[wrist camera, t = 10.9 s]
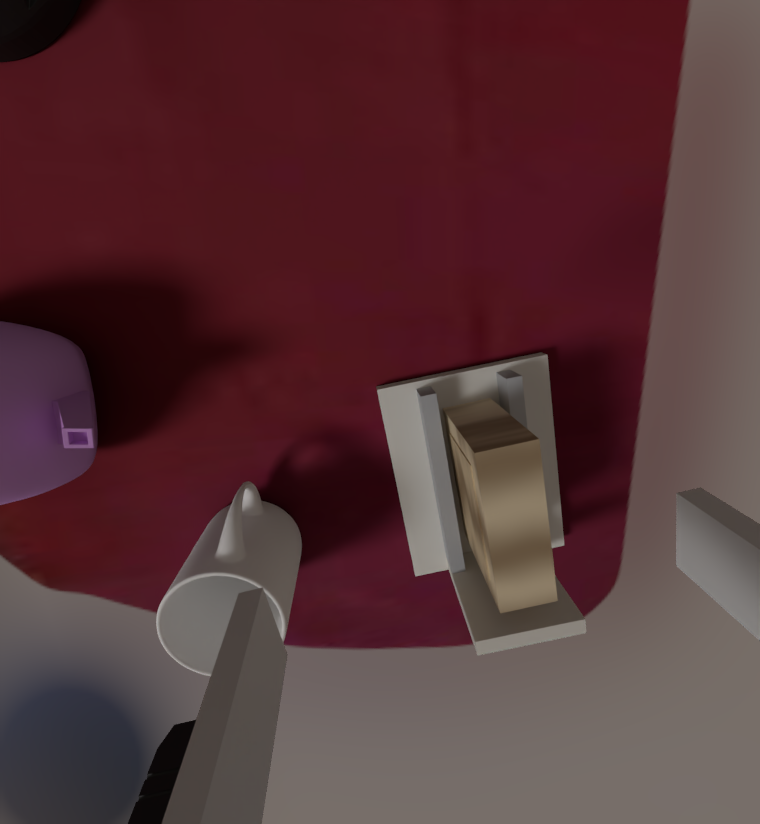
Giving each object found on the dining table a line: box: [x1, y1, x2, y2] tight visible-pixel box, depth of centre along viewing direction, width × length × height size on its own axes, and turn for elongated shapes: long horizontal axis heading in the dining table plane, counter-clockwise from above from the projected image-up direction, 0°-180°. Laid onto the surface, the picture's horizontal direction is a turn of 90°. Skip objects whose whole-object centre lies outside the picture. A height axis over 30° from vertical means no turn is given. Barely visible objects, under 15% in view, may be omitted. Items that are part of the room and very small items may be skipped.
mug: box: [156, 481, 302, 676], centre depth 34 cm, size 9×12×11 cm
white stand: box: [376, 352, 586, 655], centre depth 34 cm, size 18×14×11 cm
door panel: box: [443, 398, 558, 613], centre depth 33 cm, size 12×4×10 cm, turn 12°
